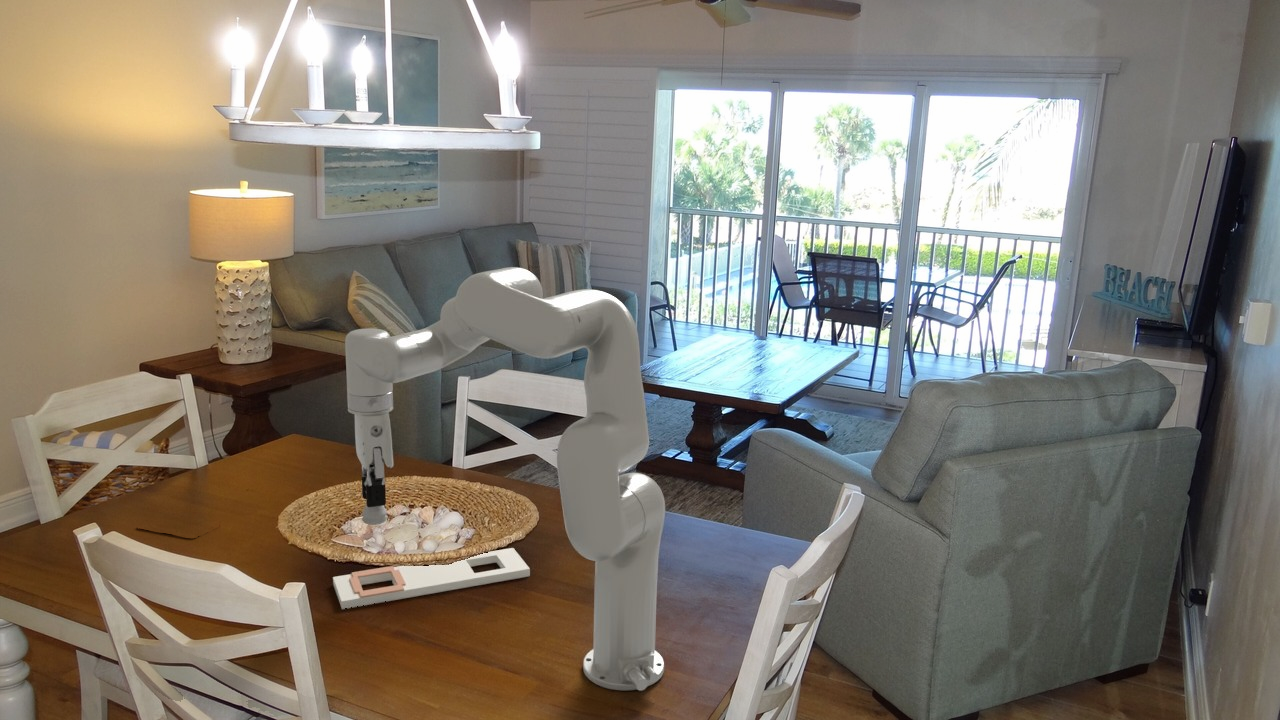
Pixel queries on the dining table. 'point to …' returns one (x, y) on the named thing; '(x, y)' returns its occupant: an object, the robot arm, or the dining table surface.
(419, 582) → the white board with slots
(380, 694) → the dining table surface
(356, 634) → the dining table surface
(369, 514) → the rook chess piece
